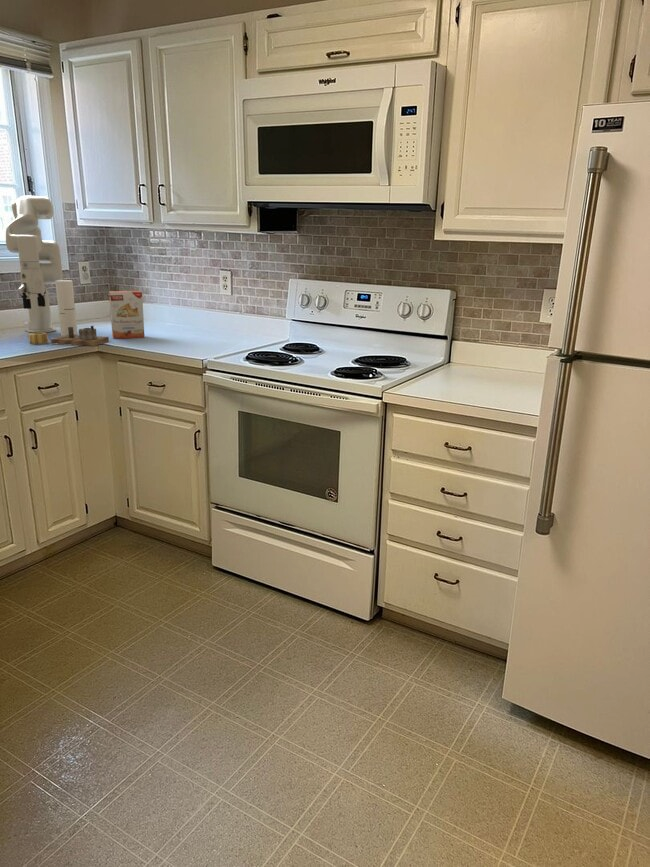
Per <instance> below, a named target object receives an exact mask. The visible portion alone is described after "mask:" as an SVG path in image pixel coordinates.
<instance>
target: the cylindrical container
mask: <svg viewBox="0 0 650 867" xmlns="http://www.w3.org/2000/svg"><path fill="white" fill-rule="evenodd" d="M73 282H74V281H73V280H70V279H68V280H67V279H62V280H57V281H55V283H56V284H55V292H56V301H57V310H58V319H59V327H60V337H61V336H65V335H69V332H68V327H73V332H74V335H79V332H78V324H77V317H76V316H77V314H76V305H75V295H74V294H75V293H74V284H73Z"/></svg>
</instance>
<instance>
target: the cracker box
mask: <svg viewBox="0 0 650 867" xmlns="http://www.w3.org/2000/svg"><path fill="white" fill-rule="evenodd" d="M108 296H109V308H110V321H111V322H110V323H111V333H112V334H111V335H112V338H113V339H114V340H115V339H137V338H140V339H141V338H145V322H144V307H143V305H144V303H143V302H144V301H143V292H142V290H113V291H112V290H110V291H109V294H108Z"/></svg>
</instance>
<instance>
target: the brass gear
mask: <svg viewBox="0 0 650 867" xmlns="http://www.w3.org/2000/svg"><path fill="white" fill-rule="evenodd" d="M28 337H29V338H28V339H29V344H30V343H33V344H32V345H42V344H41V343H44V344H45V343H46V344H48V343H49V340H48V332H42V333H34V332H29V334H28ZM47 342H48V343H47ZM37 343H38V344H37Z"/></svg>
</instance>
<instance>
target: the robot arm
mask: <svg viewBox="0 0 650 867" xmlns="http://www.w3.org/2000/svg"><path fill="white" fill-rule="evenodd" d="M11 209H12V210H11V211H12V214H13V217H14V220H12V221H11V222H10V223H9V224H8V225H7V227H6V231H5V245H6V249H7V250H8V251H9V252H10V253H13V254H18V257H19V265H20V266H19V269H20V286H19V287H18V289H17V290H18V292H19V296H20V297H21V300H22V305H23V310H24V309H25V310H26V309H27V310H28V318H29V321H25V322H24V323H23V326H24V327H28V328H27V329H26V330H27V332H28V333H42V332H43V333H51V332H55V331H57V330H56V329H57V328H56V327H54V326H53V323H52V315H51V306H50V296H49V292H48V290H47V286H46V285H56V283H55V281H57V280H64V279H63V278H64V277H63V275H64V274H63V267H62V266H63V265H62V256H61V250H60V245H59V243H57V242H56V241H55V240H51V239H50V240H49V239H48V240H47V239H46V240H45V239H44V240H43V239H42V231H41V228H40V227H39V220H51V219H52V218H53V217H54V206H53V204H52V201H51V200H50V198H49V197H47V196H42V195H40V196H37V195H22V196H20V197H18V198H17V199H16V200H14V201H12V203H11ZM42 262H44V263H42ZM47 262H48V263H47ZM49 262H50V263H49Z"/></svg>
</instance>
